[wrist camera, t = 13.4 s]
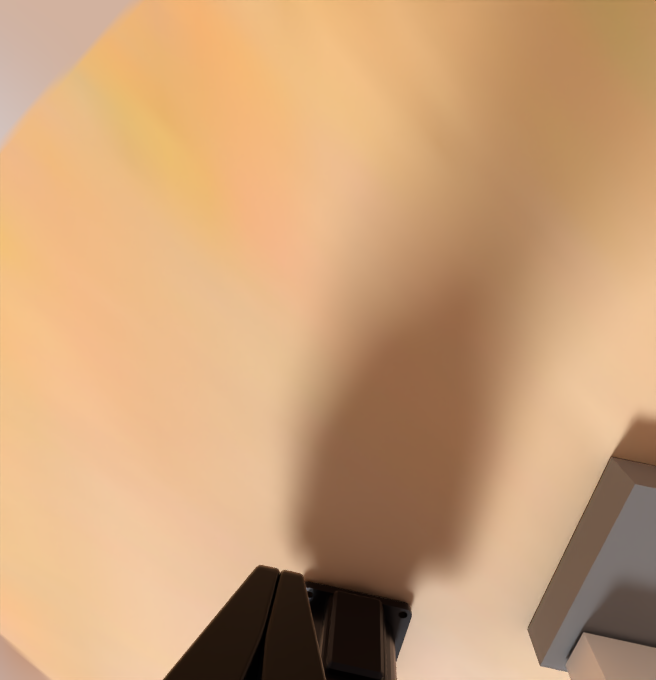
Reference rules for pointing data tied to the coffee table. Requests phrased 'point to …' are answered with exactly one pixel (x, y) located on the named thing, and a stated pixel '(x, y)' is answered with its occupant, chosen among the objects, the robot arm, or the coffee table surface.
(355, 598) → the robot arm
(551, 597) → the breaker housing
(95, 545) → the coffee table surface
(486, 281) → the coffee table surface
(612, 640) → the knob
